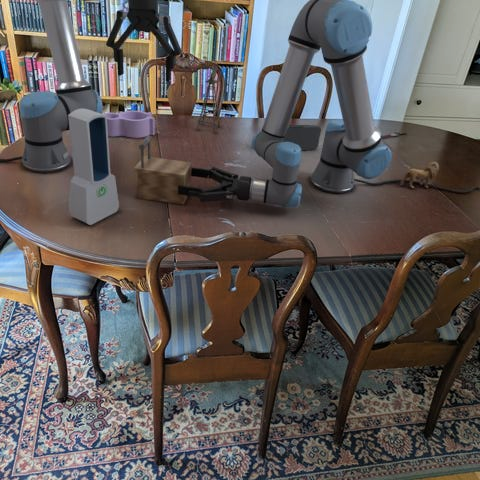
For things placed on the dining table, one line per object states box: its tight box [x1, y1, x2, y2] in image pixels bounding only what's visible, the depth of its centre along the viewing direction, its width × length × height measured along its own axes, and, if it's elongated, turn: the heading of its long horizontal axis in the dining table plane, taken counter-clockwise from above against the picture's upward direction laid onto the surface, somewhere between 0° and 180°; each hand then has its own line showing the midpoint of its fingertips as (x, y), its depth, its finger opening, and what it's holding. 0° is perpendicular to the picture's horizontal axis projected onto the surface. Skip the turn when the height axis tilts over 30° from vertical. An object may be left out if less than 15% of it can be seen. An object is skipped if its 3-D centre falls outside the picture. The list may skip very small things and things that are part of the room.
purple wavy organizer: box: [102, 110, 156, 139], centre depth 189 cm, size 20×12×7 cm, turn 109°
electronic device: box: [68, 109, 120, 226], centre depth 127 cm, size 12×8×30 cm, turn 148°
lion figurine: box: [399, 161, 440, 189], centre depth 170 cm, size 15×5×9 cm, turn 110°
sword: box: [381, 132, 406, 139], centre depth 214 cm, size 31×3×1 cm, turn 126°
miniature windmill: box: [196, 58, 221, 133], centre depth 195 cm, size 9×8×30 cm
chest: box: [136, 166, 193, 205], centre depth 147 cm, size 15×10×9 cm
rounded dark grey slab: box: [283, 124, 322, 151], centre depth 189 cm, size 23×3×10 cm, turn 108°
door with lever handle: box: [133, 135, 193, 179], centre depth 142 cm, size 16×10×9 cm, turn 83°
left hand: (144, 77), depth 130 cm, fingers open, 13 cm apart
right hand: (183, 180), depth 145 cm, fingers open, 13 cm apart
